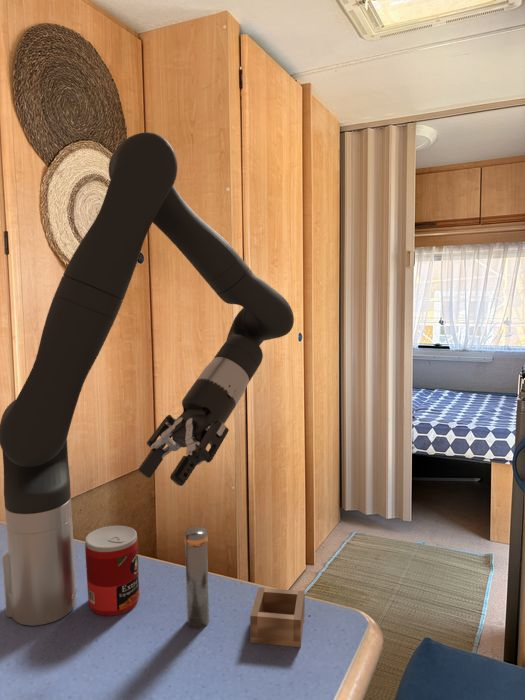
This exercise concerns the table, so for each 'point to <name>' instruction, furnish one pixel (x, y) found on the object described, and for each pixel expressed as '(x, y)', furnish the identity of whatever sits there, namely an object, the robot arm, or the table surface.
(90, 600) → the canned food
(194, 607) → the cylinder
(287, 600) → the wooden masu cup
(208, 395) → the robot arm
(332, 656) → the table surface
